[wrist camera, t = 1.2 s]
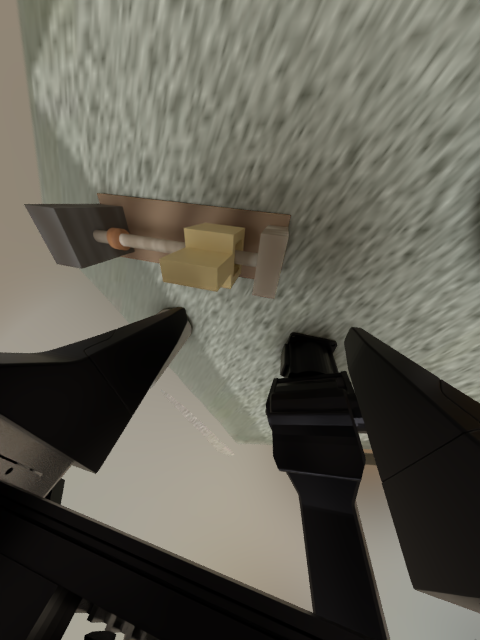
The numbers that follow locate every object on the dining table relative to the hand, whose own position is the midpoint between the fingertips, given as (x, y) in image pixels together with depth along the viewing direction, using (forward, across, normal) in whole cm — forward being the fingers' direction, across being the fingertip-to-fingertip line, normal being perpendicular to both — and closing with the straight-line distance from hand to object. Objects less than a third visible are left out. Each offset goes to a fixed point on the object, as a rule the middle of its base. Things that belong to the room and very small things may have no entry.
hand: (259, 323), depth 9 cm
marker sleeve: (+10, +5, -2) cm, 12 cm away
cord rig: (+13, +10, -2) cm, 17 cm away
